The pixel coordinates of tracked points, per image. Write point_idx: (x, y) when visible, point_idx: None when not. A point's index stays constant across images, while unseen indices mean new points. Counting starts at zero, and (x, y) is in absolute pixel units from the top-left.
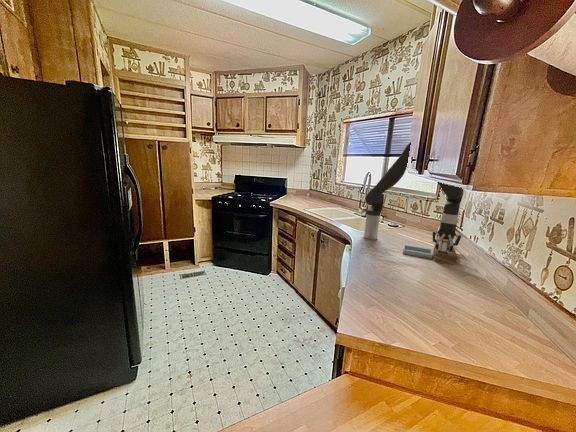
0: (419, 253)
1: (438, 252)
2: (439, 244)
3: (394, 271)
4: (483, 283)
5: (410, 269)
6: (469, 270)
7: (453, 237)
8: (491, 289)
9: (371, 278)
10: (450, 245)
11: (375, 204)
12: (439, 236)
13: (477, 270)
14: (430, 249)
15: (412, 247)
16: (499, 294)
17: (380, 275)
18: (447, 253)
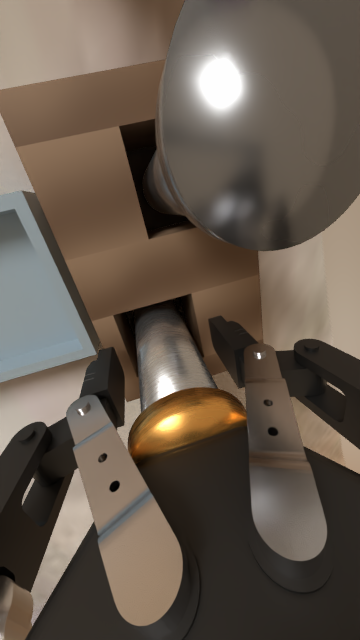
0: (4, 377)
1: (136, 378)
2: None
3: (47, 562)
4: (314, 425)
5: (80, 516)
6: (291, 343)
7: (342, 205)
8: (325, 445)
9: (31, 620)
10: (238, 374)
11: None
12: (82, 476)
13: (327, 312)
14: (11, 202)
15: None
16: (335, 455)
17: (35, 600)
18: (194, 317)
